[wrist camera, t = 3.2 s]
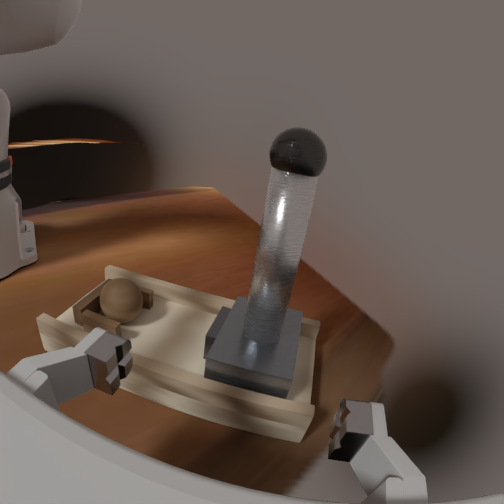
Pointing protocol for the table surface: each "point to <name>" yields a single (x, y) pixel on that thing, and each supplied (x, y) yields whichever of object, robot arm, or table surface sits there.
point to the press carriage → (270, 278)
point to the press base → (187, 357)
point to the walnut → (121, 300)
